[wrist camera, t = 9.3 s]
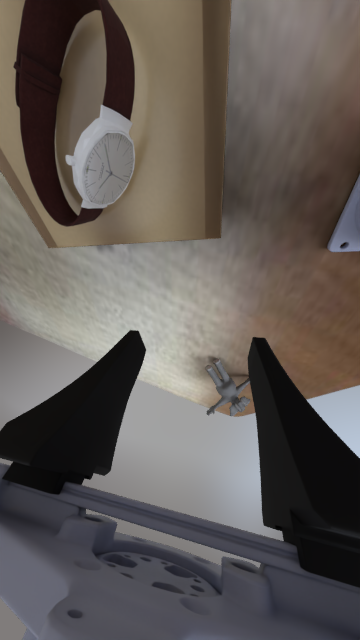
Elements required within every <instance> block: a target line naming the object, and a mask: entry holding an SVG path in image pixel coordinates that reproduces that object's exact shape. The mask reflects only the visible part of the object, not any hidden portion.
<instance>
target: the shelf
mask: <svg viewBox="0 0 360 640" xmlns="http://www.w3.org/2000/svg"><path fill="white" fill-rule="evenodd" d="M108 1H109V3H110V4H111V6H112V8H113V9H114V11H115V12H116V14H117V15H118V17H119V18H120V20H121V22H122V23H123V25H124V27H125V30H126V32H127V35H128V37H129V40H130V43H131V47H132V52H133V58H134V66H135V93H134V102H133V109H132V114H131V119H130V121H131V122H132V123H133V124H132V126H131V128H130V130H129V136H130V138H131V139H132V140H133V143H134V151H135V165H134V171H133V174H132V177H131V179H130V181H129V184H128V186H127V188H126V189H125V191H124V192H123V193H122V195H121V196H120V197H119V198H118V199H117V200H116V201H115V202H114V203H112V204H109V205H107V207H105V208H104V209H103V211H102V213H101V214H100V216H99V217H98V218H96V219H95V220H94V221H91V222H87V223H84V224H79V225H75V226H69V227H65V226H62V225H60V224H58V223H57V222H56V221H54V220H53V219H52V217H51V216H50V215H49V214H48V212H47V211H46V210H45V208H44V206H43V205H42V203H41V201H40V200H39V198H38V195H37V193H36V191H35V188H34V186H33V184H32V182H31V178H30V175H29V172H28V168H27V165H26V161H25V156H24V150H23V145H22V138H21V131H20V108H19V107H18V106H17V104H16V97H15V78H16V70H15V69H14V67H13V66H14V63H15V62H16V56H17V45H18V38H19V31H20V25H21V18H22V11H23V7H24V3H25V0H0V170H1V172H2V174H3V175H4V177H5V178H6V180H7V182H8V183H9V185H10V186H11V188H12V190H13V191H14V193H15V195H16V196H17V198H18V199H19V201H20V203H21V204H22V206H23V207H24V209H25V211H26V212H27V214H28V216H29V217H30V219H31V220H32V222H33V224H34V225H35V227H36V228H37V230H38V232H39V233H40V235H41V237H42V238H43V240H44V241H45V243H46V245H47V246H48V248H61V247H78V246H95V245H113V244H130V243H147V242H164V241H181V240H199V239H216V238H221V223H222V201H223V179H224V156H225V134H226V111H227V89H228V66H229V44H230V21H231V0H108ZM106 55H107V52H106V42H105V31H104V26H103V20H102V15H101V11H98V10H95V11H93V12H90V13H88V14H86V15H84V17H83V18H82V19H81V20H80V21H79V22H78V23H77V24H76V26H75V28H74V31H73V33H72V35H71V38H70V40H69V43H68V45H67V49H66V53H65V56H64V60H63V64H62V68H61V72H60V77H61V78H62V84H61V89H60V95H59V99H58V103H57V114H56V128H55V159H56V165H57V172H58V176H59V180H60V183H61V187H62V190H63V192H64V195H65V197H66V199H67V201H68V203H69V205H70V207H71V208H72V209H73V211H74V212H75V213H76V214H77V215H79V214H80V211H81V204H82V201H83V199H82V197H81V195H80V194H79V192H78V190H77V188H76V186H75V184H74V180H73V171H72V166H71V165H68V164H67V162H66V158H65V157H66V155H70V156H74V151H75V147H76V145H77V142H78V140H79V138H80V136H81V134H82V132H83V131H84V130H85V129H86V128H87V127H88V126H89V125H90V124H91V123H92V122H93V121H94V120H95V119H97V118H99V117H100V110H101V105H102V104H103V98H104V92H105V86H106Z"/></svg>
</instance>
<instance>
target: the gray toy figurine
mask: <svg viewBox="0 0 360 640" xmlns="http://www.w3.org/2000/svg"><path fill="white" fill-rule="evenodd" d="M213 363H214V364H215V366H216V367H217V369H218V371H219V373H220V374H221V376H222V378H223V379H220V378H219V377H218V376H217V374H216V373H215V371H214V370H213V368H212V366H211V365H208V366H206V368H205V369H206V370H207V372H208V373H209V374H210V376H211V377H212V379H213V381H214V383H215V385H216V389H217V391H218V393H219V394H220V395H222V398H221V399H220V400H219V401H218V402H217V403H216V404H215V405H214V406H212V407H211V408H210V409H209V410H208V411H207V415H210V414H211V413H214V411H215V409H216V408H217V407H219V406H222V405H224V404H226V403H228V402H231V403H232V405H231V407H230V408H229V409H230V416H234V415H235V414H236V413H237V412H238V411H239V412H242V411H244V410H245V406H247V404H249V402H250V399H247V398H246V397H241V398H240V400H239V398H238V395H239V394H240V392H241V391H242V390H243V389H244V388H245V386H246V385H247V384H249V383H250V379H249V378H248V379H247V380H246V381H245V382H244V383H242V384H240V385H239V386H238V387H236V385H235V383H234V381H233V380H232V379H231V378H230V377H229V376H228V374H227V373H226V371H225V369H224V368H223V366H222V364H221V362H220V360H219V359H215V360H214V361H213Z"/></svg>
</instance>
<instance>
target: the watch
mask: <svg viewBox="0 0 360 640" xmlns="http://www.w3.org/2000/svg"><path fill="white" fill-rule="evenodd" d="M95 10H98V11H101V15H102V20H103V26H104V31H105V42H106V52H107V55H106V86H105V92H104V98H103V104H102V105H101V110H100V117H99V118H97V119H95V120H94V121H93V122H92V123H91V124H90V125H89V126H88V127H87V128H86V129H85V130H84V131H83V132H82V134H81V136H80V138H79V140H78V142H77V145H76V147H75V151H74V156H70V155H66V157H65V158H66V162H67V164H68V165H71V166H72V171H73V180H74V184H75V186H76V188H77V190H78V192H79V194H80V195H81V197H82V199H83V201H82V204H81V211H80V214H79V215H77V214H76V213H75V212H74V211H73V209H72V208H71V207H70V205H69V203H68V201H67V199H66V197H65V195H64V192H63V190H62V187H61V183H60V180H59V176H58V172H57V165H56V159H55V128H56V114H57V103H58V99H59V95H60V89H61V84H62V78H61V77H60V72H61V68H62V64H63V60H64V56H65V53H66V49H67V45H68V43H69V40H70V38H71V35H72V33H73V31H74V28H75V26H76V24H77V23H78V22H79V21H80V20H81V19H82V18H83V17H84V15H86V14H88V13H90V12H93V11H95ZM13 67H14V69H15V70H16V78H15V97H16V104H17V106H18V107H19V108H20V131H21V138H22V145H23V150H24V156H25V161H26V165H27V168H28V172H29V175H30V178H31V182H32V184H33V186H34V188H35V191H36V193H37V195H38V198H39V200H40V201H41V203H42V205H43V206H44V208H45V210H46V211H47V212H48V214H49V215H50V216H51V217H52V219H53V220H54V221H56V222H57V223H58V224H60V225H62V226H65V227H69V226H75V225H79V224H84V223H87V222H91V221H94V220H95V219H96V218H98V217H99V216H100V214H101V213H102V211H103V209H104V208H105V207H107V205H109V204H112V203H114V202H115V201H116V200H117V199H118V198H119V197H120V196H121V195H122V193H123V192H124V191H125V189H126V188H127V186H128V184H129V181H130V179H131V177H132V174H133V171H134V165H135V151H134V143H133V140H132V139H131V138H130V136H129V130H130V128H131V126H132V124H133V123H132V122H131V121H130V119H131V114H132V109H133V102H134V93H135V66H134V58H133V52H132V47H131V43H130V40H129V37H128V35H127V32H126V30H125V27H124V25H123V23H122V22H121V20H120V18H119V17H118V15H117V14H116V12H115V11H114V9H113V8H112V6H111V4H110V3H109V1H108V0H25V3H24V7H23V11H22V18H21V25H20V31H19V38H18V45H17V56H16V62H15V63H14V66H13Z"/></svg>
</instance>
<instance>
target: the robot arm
mask: <svg viewBox="0 0 360 640" xmlns="http://www.w3.org/2000/svg"><path fill="white" fill-rule="evenodd" d="M345 242H346V244H345V245H344V246H343V247H340V246H341V244H343V243H345ZM327 248H328V250H330V251H331V252H348V251H360V175H359V177H358V179H357V181H356V183H355V186H354V188H353V190H352V192H351V194H350V197H349V199H348V201H347V203H346V205H345V208H344V210H343V212H342V214H341V216H340V219H339V221H338V223H337V225H336V228H335V230H334V232H333V234H332V236H331V239H330V241H329V243H328V246H327ZM145 352H146V348H145V346H144V343H143V341H142V338H141V336H140V333H139V331H133V330H130V331H129V332H128V333H127V334H126V335H125V336H124V337H123V338H122V339H121V340H120V341H119V342H118V343H117V344H116V345H115V346H114V347H113V348H112V349H111V350H110V351H109V352H108V353H107V354H106V355H105V356H104V357H102V358H101V359H100V360H99V361H98V362H97V363H96V364H95V365H94V366H92V367H91V368H90V369H89V370H88V371H87V372H85V373H84V374H83V375H82V376H80V377H79V378H78V379H76V380H75V381H74V382H72V383H71V384H70V385H68V386H67V387H65V388H64V389H63V390H61V391H60V392H58V393H57V394H55V395H54V396H52V397H51V398H49V399H48V400H46V401H44V402H43V403H41V404H40V405H38V406H36V407H34V408H33V409H31V410H29V411H27V412H26V413H24V414H22V415H20V416H18V417H17V418H15V419H13V420H11V421H9V422H7V423H6V424H5V426H4V427H3V428H2V430H1V431H0V458H2V459H6V460H10V461H13V463H12V464H11V465H6V464H2V463H0V598H1V599H2V600H3V602H4V603H5V604H6V605H7V606H8V607H9V608H10V609H11V610H12V611H13V613H15V615H16V616H17V617H18V618H19V619H20V620H21V621H22V622H23V623H24V625H25V626H26V627H27V629H26V632H25V634H24V637H23V639H22V640H360V458H359V457H358V456H357V455H356V454H355V453H353V451H352V450H350V448H349V447H348V446H347V445H346V444H345V443H344V442H343V441H342V440H341V439H340V438H339V437H338V436H337V434H336V433H335V432H333V430H332V429H331V428H330V427H329V426H328V425H327V424H326V423H325V422H324V421H323V419H322V418H321V417H320V416H319V415H318V414H317V412H316V411H315V410H314V409H313V408H312V406H311V405H310V404H309V403H308V402H307V400H306V399H305V398H304V397H303V395H302V394H301V393H300V391H299V390H298V389H297V387H296V386H295V385H294V383H293V382H292V381H291V379H290V378H289V376H288V375H287V373H286V372H285V370H284V369H283V367H282V366H281V364H280V363H279V361H278V360H277V358H276V356H275V355H274V353H273V351H272V350H271V348H270V346H269V344H268V342H267V340H266V339H265V338H257V337H253V339H252V343H251V347H250V351H249V355H248V371H249V379H250V384H251V390H252V396H253V401H254V407H255V412H256V420H257V429H258V443H259V457H260V474H261V495H262V515H263V523H264V526H267V527H270V528H273V529H276V530H280V531H282V533H283V539H284V541H280V540H276V539H273V538H269V537H266V536H262V535H258V534H255V533H251V532H248V531H244V530H241V529H237V528H233V527H230V526H226V525H222V524H219V523H215V522H212V521H208V520H204V519H201V518H198V517H194V516H190V515H187V514H183V513H179V512H176V511H173V510H169V509H165V508H162V507H158V506H155V505H151V504H147V503H144V502H140V501H137V500H133V499H129V498H126V497H122V496H118V495H115V494H111V493H108V492H104V491H101V490H97V489H94V488H90V487H86V486H83V485H82V483H83V480H84V478H85V479H89V480H90V479H91V478H92V476H93V473H96V474H99V475H103V476H105V475H106V474H108V473H109V472H110V470H111V466H112V461H113V456H114V451H115V447H116V443H117V438H118V434H119V430H120V426H121V422H122V419H123V415H124V412H125V409H126V405H127V402H128V399H129V396H130V393H131V391H132V388H133V386H134V384H135V381H136V379H137V376H138V374H139V371H140V369H141V366H142V363H143V360H144V356H145ZM86 509H89V510H92V511H95V512H98V513H102V514H105V515H108V516H111V517H114V518H118V519H121V520H124V521H128V522H131V523H134V524H137V525H140V526H144V527H147V528H150V529H153V530H157V531H160V532H163V533H166V534H170V535H173V536H176V537H179V538H182V539H185V540H189V541H192V542H196V543H198V544H202V545H205V546H208V547H211V548H215V549H218V550H221V551H224V552H228V553H231V554H234V555H237V556H240V557H244V558H247V559H250V560H253V561H256V562H260V563H261V565H260V567H259V568H258V567H256V566H255V565H253V564H252V563H249V562H247V561H243V560H239V559H234V558H229V557H222V566H221V565H218V564H216V563H213V562H210V561H208V560H206V559H203V558H201V557H198V556H196V555H193V554H191V553H188V552H185V551H183V550H180V549H177V548H174V547H171V546H168V545H164V544H161V543H157V542H153V541H150V540H146V539H142V538H138V537H134V536H130V535H126V534H122V533H118V532H115V530H116V527H117V522H115V521H114V520H112V519H110V518H108V517H105V516H101V515H92V514H86Z"/></svg>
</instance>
